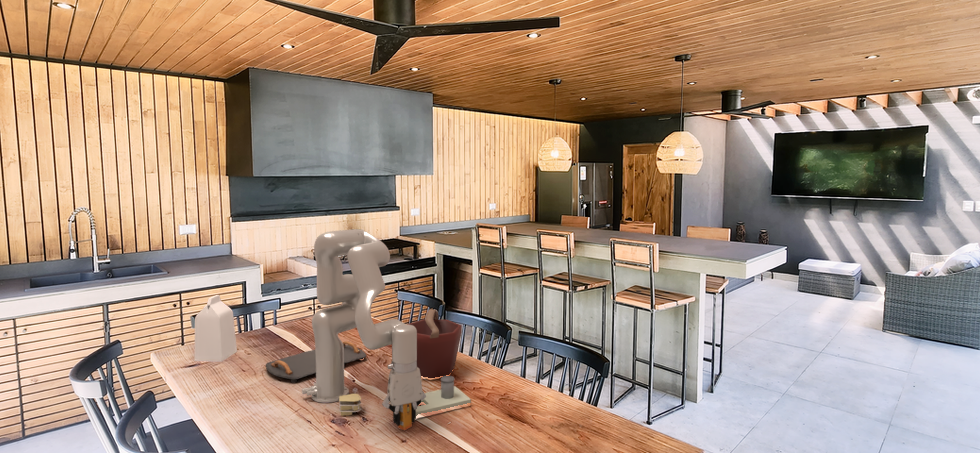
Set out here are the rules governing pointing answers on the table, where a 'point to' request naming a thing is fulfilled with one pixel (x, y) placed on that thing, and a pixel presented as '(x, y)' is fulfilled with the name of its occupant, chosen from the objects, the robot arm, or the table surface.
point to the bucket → (436, 345)
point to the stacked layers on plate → (349, 404)
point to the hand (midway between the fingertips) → (404, 421)
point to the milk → (214, 332)
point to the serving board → (308, 363)
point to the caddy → (443, 397)
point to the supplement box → (405, 416)
